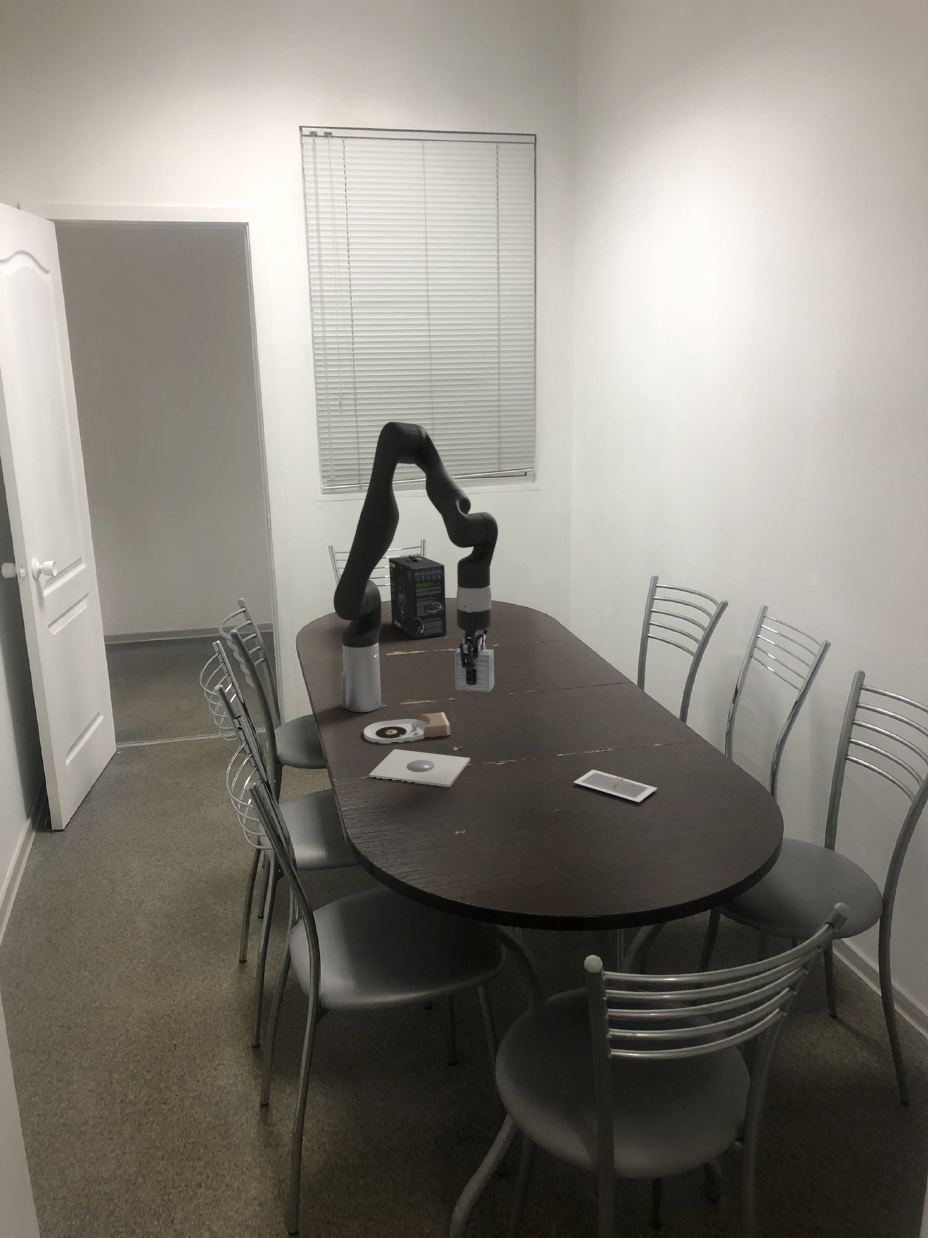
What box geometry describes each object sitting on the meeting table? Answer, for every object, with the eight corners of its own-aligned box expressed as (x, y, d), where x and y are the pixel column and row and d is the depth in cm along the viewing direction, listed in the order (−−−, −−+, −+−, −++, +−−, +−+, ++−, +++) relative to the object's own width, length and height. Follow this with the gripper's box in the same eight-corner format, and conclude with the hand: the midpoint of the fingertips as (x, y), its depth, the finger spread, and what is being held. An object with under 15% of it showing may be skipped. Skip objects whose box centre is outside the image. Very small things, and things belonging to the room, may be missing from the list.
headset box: (390, 624, 306) (387, 551, 300) (422, 620, 311) (420, 548, 305) (414, 640, 287) (411, 562, 280) (447, 635, 291) (446, 559, 285)
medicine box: (494, 686, 194) (494, 649, 192) (489, 693, 190) (489, 655, 188) (460, 683, 196) (459, 646, 194) (455, 690, 192) (454, 652, 190)
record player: (450, 726, 205) (365, 735, 201) (451, 739, 206) (366, 747, 202) (442, 709, 216) (361, 717, 212) (442, 721, 217) (362, 729, 213)
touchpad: (638, 807, 171) (639, 797, 170) (573, 787, 180) (573, 777, 180) (657, 793, 177) (657, 783, 176) (592, 774, 186) (593, 764, 186)
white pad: (369, 776, 185) (369, 773, 185) (394, 751, 198) (394, 748, 198) (449, 787, 180) (449, 784, 180) (470, 760, 193) (470, 757, 193)
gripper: (467, 597, 196) (467, 669, 201) (447, 612, 183) (448, 689, 187) (499, 599, 194) (499, 672, 198) (481, 614, 181) (481, 692, 185)
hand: (474, 680), depth 193 cm, fingers closed on medicine box, 4 cm apart
